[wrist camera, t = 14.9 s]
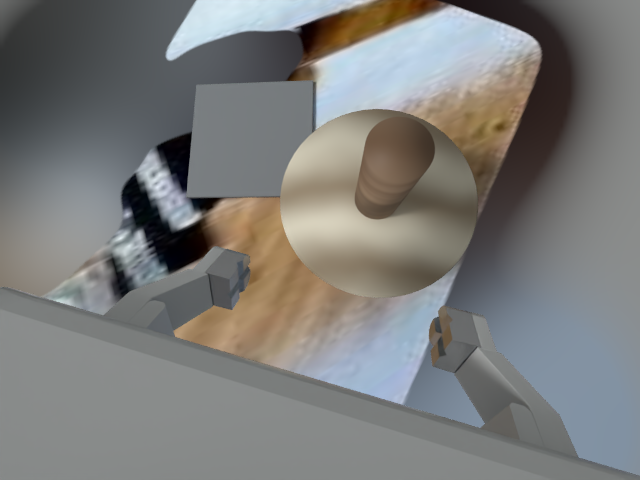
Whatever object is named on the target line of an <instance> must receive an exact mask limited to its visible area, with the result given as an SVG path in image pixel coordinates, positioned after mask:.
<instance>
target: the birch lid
mask: <svg viewBox="0 0 640 480" xmlns="http://www.w3.org/2000/svg"><path fill="white" fill-rule="evenodd" d="M280 211H281V217H282V223H283V226H284V230H285V233H286V236H287V238H288V240H289V242H290V244H291V246H292V248H293V249H294V251H295V253H296V254H297V256H298V257H299V258H300V260H301V261H302V262H303V263H304V264H305V266H306V267H307V268H308V269H310V270H311V271H312V272H313V273H314V274H315V275H316V276H318V277H319V278H320V279H322V280H323V281H325V282H326V283H328V284H330V285H332V286H334V287H336V288H337V289H340V290H342V291H345V292H348V293H351V294H355V295H359V296H364V297H374V298H386V297H396V296H402V295H406V294H410V293H413V292H416V291H419V290H421V289H423V288H425V287H427V286H429V285H431V284H433V283H434V282H436V281H437V280H439V279H440V278H442V277H443V276H444V275H445V274H446V273H447V272H448V271H450V270H451V269H452V268H453V266H454V265H455V264H456V263H457V262H458V261H459V259H460V258H461V257H462V255H463V253H464V252H465V250H466V249H467V247H468V245H469V243H470V240H471V238H472V236H473V232H474V229H475V225H476V220H477V213H478V196H477V189H476V184H475V181H474V177H473V174H472V171H471V169H470V167H469V165H468V162H467V161H466V159H465V158H464V156H463V154H462V153H461V151H460V150H459V149H458V147H457V146H456V145H455V144H454V142H453V141H452V140H451V139H449V138H448V137H447V136H446V135H445V134H444V133H443V132H442V131H440V130H439V129H438V128H436V127H435V126H433V125H432V124H430V123H428V122H426V121H425V120H423V119H420V118H418V117H415V116H413V115H410V114H407V113H403V112H399V111H393V110H383V109H372V110H362V111H357V112H352V113H349V114H345V115H342V116H340V117H337V118H335V119H333V120H331V121H329V122H327V123H326V124H324V125H322V126H321V127H319V128H318V129H317V130H316V131H314V132H313V133H312V134H311V135H309V136H308V138H307V139H306V140H305V141H304V142H303V143H302V144H301V145H300V146H299V148H298V149H297V151H296V152H295V153H294V155H293V157H292V159H291V160H290V162H289V164H288V167H287V169H286V172H285V174H284V178H283V182H282V186H281V195H280Z"/></svg>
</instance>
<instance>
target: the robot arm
mask: <svg viewBox="0 0 640 480" xmlns="http://www.w3.org/2000/svg"><path fill="white" fill-rule="evenodd" d="M249 263H250V256H249V255H246V254H243V253H239V252H236V251H232V250H229V249H224V248H221V247H217V246H216V247H213V248H212V249H211V250H210V251H209V252H208V253H207V255H206V256H205V257H204V258H203V259H202V260H201V261H200V262H199V263H198V264H197V265H196V267H195V268H194V269H193V270H192V269H188V270H185V271H183V272H180V273H177V274H175V275H172V276H169V277H167V278H164V279H162V280H159V281H156V282H154V283H151V284H148V285H146V286H143V287H141V288H138V289H135V290H133V291H130V292H129V293H128V294H126V295H125V296H124V297H123V298H122V299H121V300H120V301H119V302H118V303H117V304H115V305H114V306H113V307H112V308H111V309H110V310H109V311H108V312H107V313H106V314H105V315H100V314H96V313H93V312H90V311H86V310H83V309H80V308H76V307H73V306H70V305H66V304H63V303H60V302H56V301H53V300H49V299H46V298H43V297H39V296H36V295H33V294H29V293H27V292H23V291H20V290H17V289H13V288H8V287H0V480H640V476H638V475H635V474H632V473H628V472H625V471H622V470H618V469H615V468H612V467H608V466H605V465H602V464H598V463H595V462H592V461H588V460H585V459H581V458H579V457H578V455H577V453H576V451H575V448H574V446H573V444H572V442H571V440H570V438H569V435H568V433H567V431H566V429H565V426H564V424H563V422H562V419H561V417H560V415H559V414H558V413H557V412H556V411H555V410H554V409H553V408H552V407H551V406H550V405H549V404H548V402H546V400H545V399H544V398H543V397H542V396H541V395H540V394H539V393H538V392H537V391H536V390H535V389H534V388H533V387H532V386H531V384H530V383H529V382H528V381H527V380H526V379H525V378H524V377H523V376H522V375H521V374H520V373H519V372H518V371H517V370H516V369H515V368H514V366H513V365H512V364H511V363H510V362H509V361H508V360H507V359H506V358H505V357H504V356H503V355H502V354H501V353H498V352H497V351H496V348H495V345H494V342H493V339H492V336H491V333H490V330H489V328H488V325H487V322H486V319H485V317H484V316H483V315H479V314H476V313H472V312H467V311H463V310H459V309H455V308H451V307H447V306H442V307H441V308H440V309H439V311H438V314H439V317H436V318H434V319H433V321H432V323H431V325H430V329H429V341H430V342H431V344H432V345H433V346H434V347H433V348H432V350H431V358H432V366H433V367H436V368H439V369H442V370H446V371H449V372H452V373H455V376H456V378H457V379H458V381H459V383H460V384H461V386H462V387H463V389H464V390H465V392H466V394H467V395H468V397H469V399H470V400H471V402H472V403H473V405H474V406H475V408H476V410H477V411H478V413H479V415H480V416H481V418H482V419H483V421H484V423H485V424H484V425H483V426H482V427H481V428H478V427H475V426H471V425H468V424H465V423H461V422H458V421H455V420H451V419H448V418H445V417H441V416H437V415H434V414H431V413H427V412H424V411H421V410H418V409H414V408H411V407H408V406H404V405H401V404H398V403H394V402H391V401H387V400H384V399H381V398H377V397H374V396H371V395H367V394H364V393H361V392H357V391H354V390H351V389H347V388H344V387H340V386H337V385H334V384H330V383H327V382H324V381H320V380H317V379H314V378H310V377H307V376H304V375H300V374H297V373H294V372H290V371H287V370H284V369H280V368H277V367H274V366H270V365H267V364H264V363H260V362H257V361H254V360H250V359H247V358H243V357H240V356H237V355H233V354H230V353H227V352H223V351H220V350H217V349H213V348H210V347H207V346H203V345H200V344H197V343H193V342H190V341H187V340H183V339H180V338H177V337H175V335H174V332H173V331H174V330H175V329H177V328H178V327H180V326H182V325H183V324H185V323H187V322H188V321H190V320H191V319H193V318H195V317H196V316H198V315H200V314H201V313H203V312H204V311H206V310H208V309H209V308H211V307H212V306H213V305H215V306H218V307H222V308H226V309H230V310H232V309H233V308H234V306H235V305H236V303H237V301H238V300H239V293H240V292H242V291H244V290H245V288H246V287H247V285H248V282H249V279H250V269H249V267H248V265H249Z"/></svg>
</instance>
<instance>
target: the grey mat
mask: <svg viewBox="0 0 640 480" xmlns="http://www.w3.org/2000/svg"><path fill="white" fill-rule="evenodd" d="M312 131H313V81H287V82H260V83H235V84H206V85H197V87H196V97H195V108H194V119H193V130H192V141H191V152H190V163H189V174H188V185H187V196H186V197H187V198H240V197H280V195H281V186H282V182H283V178H284V174H285V172H286V169H287V167H288V164H289V162H290V160H291V159H292V157H293V155H294V153H295V152H296V151H297V149H298V148H299V146H300V145H301V144H302V143H303V142H304V141H305V140H306V139H307V138H308V136H309V135H311V134H312Z"/></svg>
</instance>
